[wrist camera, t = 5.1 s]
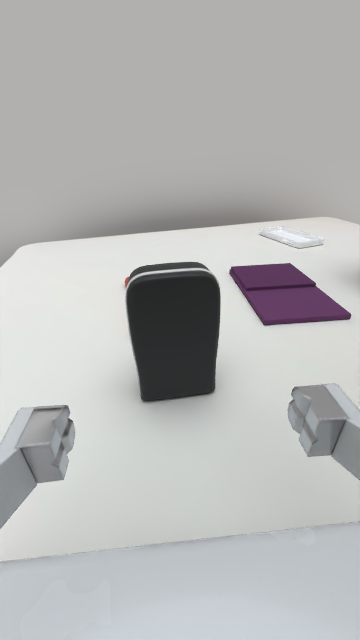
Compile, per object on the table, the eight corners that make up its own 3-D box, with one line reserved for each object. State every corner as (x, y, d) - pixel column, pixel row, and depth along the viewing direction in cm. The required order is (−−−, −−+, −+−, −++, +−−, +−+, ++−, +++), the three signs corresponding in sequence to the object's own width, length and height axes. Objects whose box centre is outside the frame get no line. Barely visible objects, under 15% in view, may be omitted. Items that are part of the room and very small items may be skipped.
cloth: (289, 269, 51) (290, 262, 50) (350, 319, 35) (352, 310, 34) (229, 272, 50) (229, 266, 49) (264, 325, 34) (265, 316, 34)
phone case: (324, 244, 63) (281, 230, 75) (325, 238, 63) (281, 225, 75) (298, 248, 61) (257, 234, 73) (299, 242, 60) (258, 228, 73)
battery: (208, 366, 28) (211, 254, 22) (218, 393, 25) (225, 270, 19) (137, 375, 27) (122, 260, 21) (138, 404, 24) (120, 279, 18)
